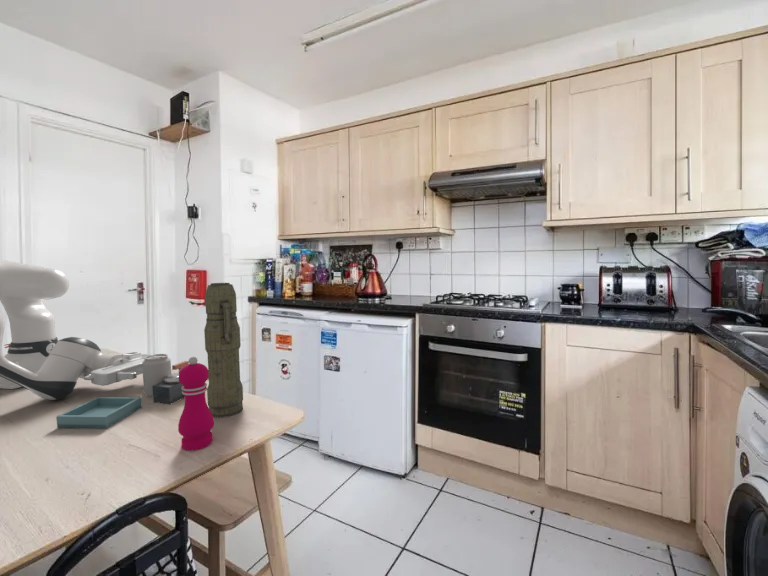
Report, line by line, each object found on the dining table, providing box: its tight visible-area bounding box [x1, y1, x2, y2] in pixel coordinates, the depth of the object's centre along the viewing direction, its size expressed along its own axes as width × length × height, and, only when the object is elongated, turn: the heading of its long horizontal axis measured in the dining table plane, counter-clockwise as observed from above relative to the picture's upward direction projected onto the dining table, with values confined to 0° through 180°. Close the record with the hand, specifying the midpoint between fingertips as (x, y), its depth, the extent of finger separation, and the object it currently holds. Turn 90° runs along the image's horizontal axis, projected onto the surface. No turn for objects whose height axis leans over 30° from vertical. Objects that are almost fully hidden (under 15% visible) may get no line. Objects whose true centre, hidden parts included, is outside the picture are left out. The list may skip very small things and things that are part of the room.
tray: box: [56, 396, 143, 430], centre depth 98 cm, size 13×13×3 cm
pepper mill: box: [177, 356, 215, 452], centre depth 83 cm, size 7×7×20 cm
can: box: [142, 353, 172, 398], centre depth 114 cm, size 8×8×12 cm
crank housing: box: [152, 360, 189, 405], centre depth 112 cm, size 7×12×10 cm, turn 165°
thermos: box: [203, 282, 244, 418], centre depth 100 cm, size 9×12×35 cm
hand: (148, 371), depth 114 cm, fingers open, 8 cm apart
